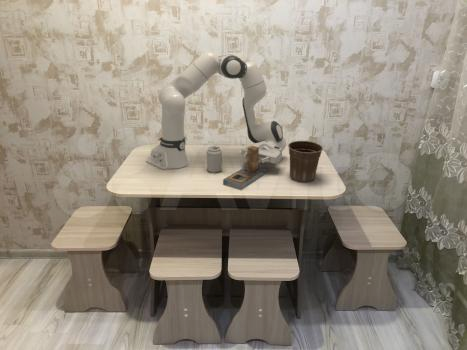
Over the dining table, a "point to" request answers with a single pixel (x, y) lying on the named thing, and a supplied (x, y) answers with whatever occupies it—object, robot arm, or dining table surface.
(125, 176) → the dining table surface
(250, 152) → the walnut peg
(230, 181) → the metal plate
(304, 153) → the plant pot
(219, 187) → the dining table surface
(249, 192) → the dining table surface
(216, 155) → the can
